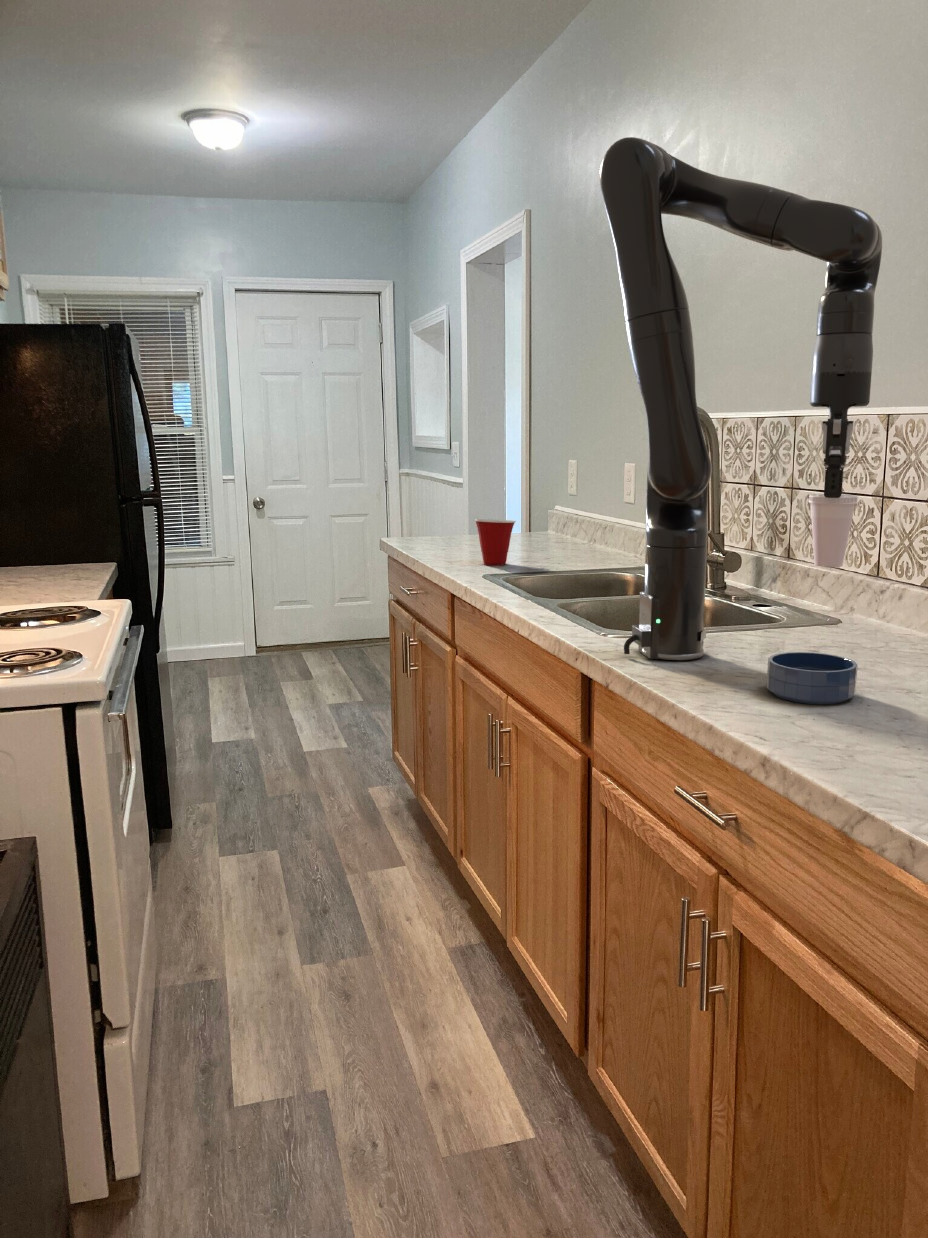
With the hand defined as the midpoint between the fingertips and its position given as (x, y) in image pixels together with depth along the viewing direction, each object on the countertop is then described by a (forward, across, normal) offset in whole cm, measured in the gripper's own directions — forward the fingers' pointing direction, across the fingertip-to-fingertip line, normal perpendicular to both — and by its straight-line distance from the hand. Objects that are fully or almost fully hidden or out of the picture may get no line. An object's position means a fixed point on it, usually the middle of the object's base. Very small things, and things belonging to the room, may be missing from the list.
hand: (832, 495), depth 133 cm
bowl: (+26, +11, -1) cm, 28 cm away
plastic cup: (+26, -93, -83) cm, 127 cm away
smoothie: (+10, 0, 0) cm, 10 cm away
